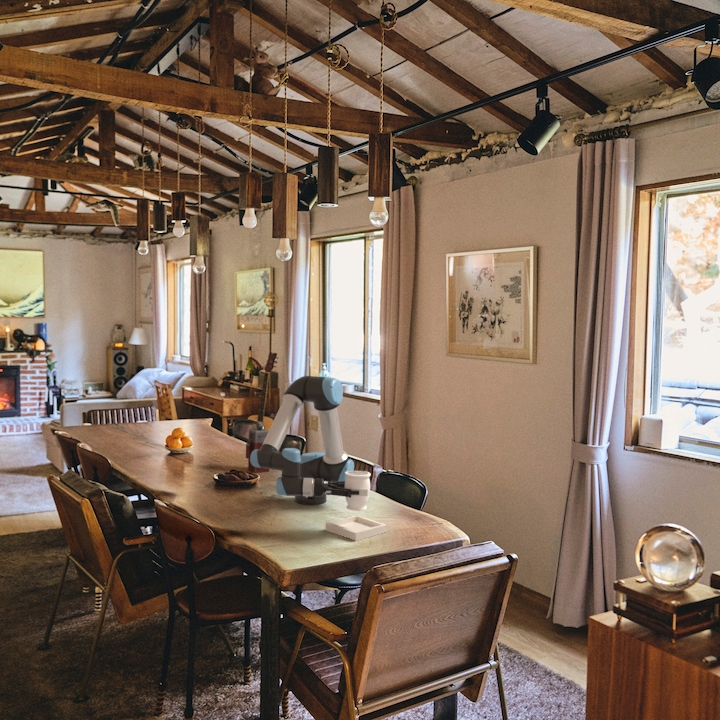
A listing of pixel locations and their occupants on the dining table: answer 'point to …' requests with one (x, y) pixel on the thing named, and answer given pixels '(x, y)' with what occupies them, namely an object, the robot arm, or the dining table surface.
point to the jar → (357, 482)
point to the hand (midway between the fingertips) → (367, 489)
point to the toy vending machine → (255, 445)
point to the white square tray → (356, 527)
